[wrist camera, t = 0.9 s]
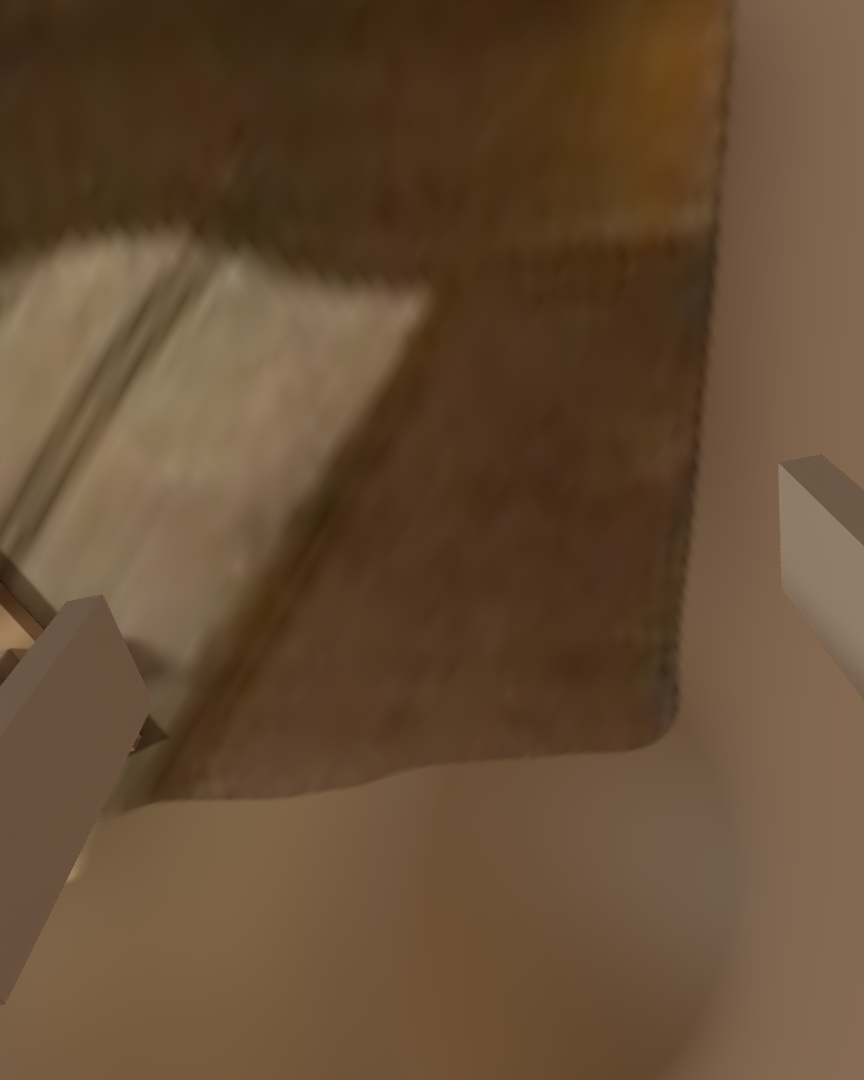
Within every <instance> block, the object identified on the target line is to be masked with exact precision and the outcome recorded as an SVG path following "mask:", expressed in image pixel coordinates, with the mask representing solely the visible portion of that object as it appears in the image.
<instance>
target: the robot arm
mask: <svg viewBox="0 0 864 1080" xmlns="http://www.w3.org/2000/svg"><path fill="white" fill-rule="evenodd" d="M778 464H779V466H778V467H779V504H780V539H781V540H780V541H781V576H782V591H783V593H784V594H785V596H786V597H787V598H788V600H789V601H790V602H791V604H792V605H793V606H794V608H795V609H796V610H797V612H798V613H799V614H800V616H801V617H802V618H803V620H804V621H805V622H806V624H807V625H808V626H809V628H810V629H811V630H812V632H813V633H814V634H815V636H816V637H817V638H818V640H819V641H820V642H821V644H822V645H823V646H824V648H825V649H826V650H827V652H828V653H829V654H830V656H831V657H832V659H833V660H834V661H835V662H836V664H837V665H838V667H839V668H840V669H841V671H842V672H843V673H844V675H845V676H846V677H847V679H848V680H849V681H850V683H851V684H852V685H853V687H854V688H855V689H856V690H857V692H858V693H859V695H860V696H861V697H862V699H863V700H864V490H863V489H862V488H861V487H860V486H859V485H857V484H856V483H855V482H854V481H852V480H851V479H850V478H849V477H848V476H847V475H845V474H844V473H843V472H842V471H841V470H840V469H838V468H837V467H836V466H835V465H834V464H832V463H831V462H830V461H829V460H828V459H826V458H825V457H824V456H823V455H822V454H821V455H816V456H811V457H806V458H800V459H795V460H790V461H785V462H780V463H778ZM153 704H154V702H153V700H152V698H151V696H150V694H149V692H148V690H147V688H146V685H145V683H144V681H143V679H142V677H141V675H140V673H139V671H138V668H137V666H136V664H135V662H134V660H133V658H132V656H131V654H130V651H129V649H128V647H127V645H126V643H125V641H124V639H123V637H122V634H121V632H120V630H119V628H118V626H117V624H116V622H115V620H114V618H113V615H112V613H111V611H110V609H109V607H108V605H107V603H106V601H105V598H104V596H103V595H98V596H93V597H88V598H83V599H77V600H72V601H67V602H66V603H65V604H64V606H63V607H62V608H61V610H60V611H59V612H58V613H57V615H56V616H55V617H54V619H53V620H52V621H51V622H50V624H49V625H48V626H47V627H46V629H45V630H44V631H43V633H42V634H41V635H40V636H39V638H38V639H37V640H36V641H35V643H34V644H33V645H32V647H31V648H30V649H29V650H28V652H27V653H26V654H25V655H24V657H23V658H22V659H21V661H20V662H19V663H18V664H17V666H16V667H15V668H14V669H13V671H12V672H11V673H10V675H9V676H8V677H7V678H6V680H5V681H4V682H3V683H2V685H1V686H0V1005H3V1004H6V1002H7V999H8V998H9V995H10V993H11V991H12V989H13V987H14V985H15V983H16V981H17V979H18V977H19V975H20V973H21V971H22V969H23V967H24V965H25V963H26V961H27V959H28V957H29V955H30V953H31V951H32V949H33V947H34V944H35V943H36V941H37V939H38V937H39V935H40V932H41V931H42V928H43V927H44V925H45V922H46V921H47V919H48V917H49V915H50V912H51V910H52V908H53V906H54V904H55V902H56V900H57V898H58V896H59V894H60V892H61V890H62V888H63V886H64V884H65V882H66V880H67V878H68V876H69V874H70V872H71V870H72V868H73V866H74V864H75V862H76V860H77V858H78V856H79V854H80V852H81V850H82V848H83V846H84V844H85V842H86V840H87V838H88V836H89V834H90V832H91V829H92V827H93V825H94V823H95V821H96V819H97V817H98V815H99V813H100V811H101V809H102V807H103V805H104V803H105V801H106V799H107V797H108V795H109V793H110V791H111V789H112V787H113V785H114V783H115V781H116V779H117V777H118V775H119V773H120V771H121V769H122V767H123V765H124V763H125V761H126V759H127V757H128V755H129V753H130V751H131V748H132V746H133V744H134V742H135V740H136V738H137V736H138V734H139V732H140V730H141V728H142V726H143V724H144V722H145V720H146V718H147V716H148V714H149V712H150V710H151V708H152V706H153Z"/></svg>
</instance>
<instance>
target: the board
mask: <svg viewBox="0 0 864 1080" xmlns="http://www.w3.org/2000/svg"><path fill="white" fill-rule="evenodd" d="M43 631H44V629H43V628H42V627H41V626H40V625H39V624H38V623H37V621H36V620H35V619H34V618H33V617H32V616H31V615H30V614H29V613H28V612H27V611H26V609H25V608H24V607H23V606H22V605H21V604H20V603H19V602H18V601H17V600H16V598H15V597H14V596H13V595H12V594H11V593H10V592H9V591H8V590H7V589H6V588H5V586H4V585H3V584H2V583H1V582H0V652H3V651H5V650H7V649H9V651H10V652H11V653H12V654H13V655H14V657H15V658H16V659H17V660H18V662H20V661H21V659H22V658H23V657H24V655H25V654H26V653H27V652H28V650H29V649H30V648H31V647H32V645H33V644H34V643H35V641H36V640H37V639H38V638H39V636H40V635H41V634H42V633H43ZM141 737H142V736H141V735H140V734H138V736H137V738H136V740H135V742H134V744H133V746H132V748H131V751H130V752H132V751H134V750H135V749H136V747H137V745H138V743H139V741H140V739H141Z"/></svg>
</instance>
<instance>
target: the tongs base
mask: <svg viewBox="0 0 864 1080" xmlns="http://www.w3.org/2000/svg"><path fill="white" fill-rule="evenodd" d="M18 663H19V662H18V660H17V659H16V658H15V657H14V655H13V654H12V653H11V652H10V651H9V649H7V650H5V651H3V652H0V686H1V685H2V683H3V682H4V681H5V680H6V678H7V677H8V676H9V675H10V673H11V672H12V671H13V669H14V668H15V667H16V666H17V664H18Z"/></svg>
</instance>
